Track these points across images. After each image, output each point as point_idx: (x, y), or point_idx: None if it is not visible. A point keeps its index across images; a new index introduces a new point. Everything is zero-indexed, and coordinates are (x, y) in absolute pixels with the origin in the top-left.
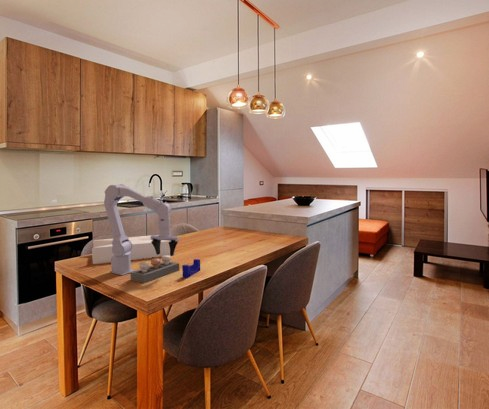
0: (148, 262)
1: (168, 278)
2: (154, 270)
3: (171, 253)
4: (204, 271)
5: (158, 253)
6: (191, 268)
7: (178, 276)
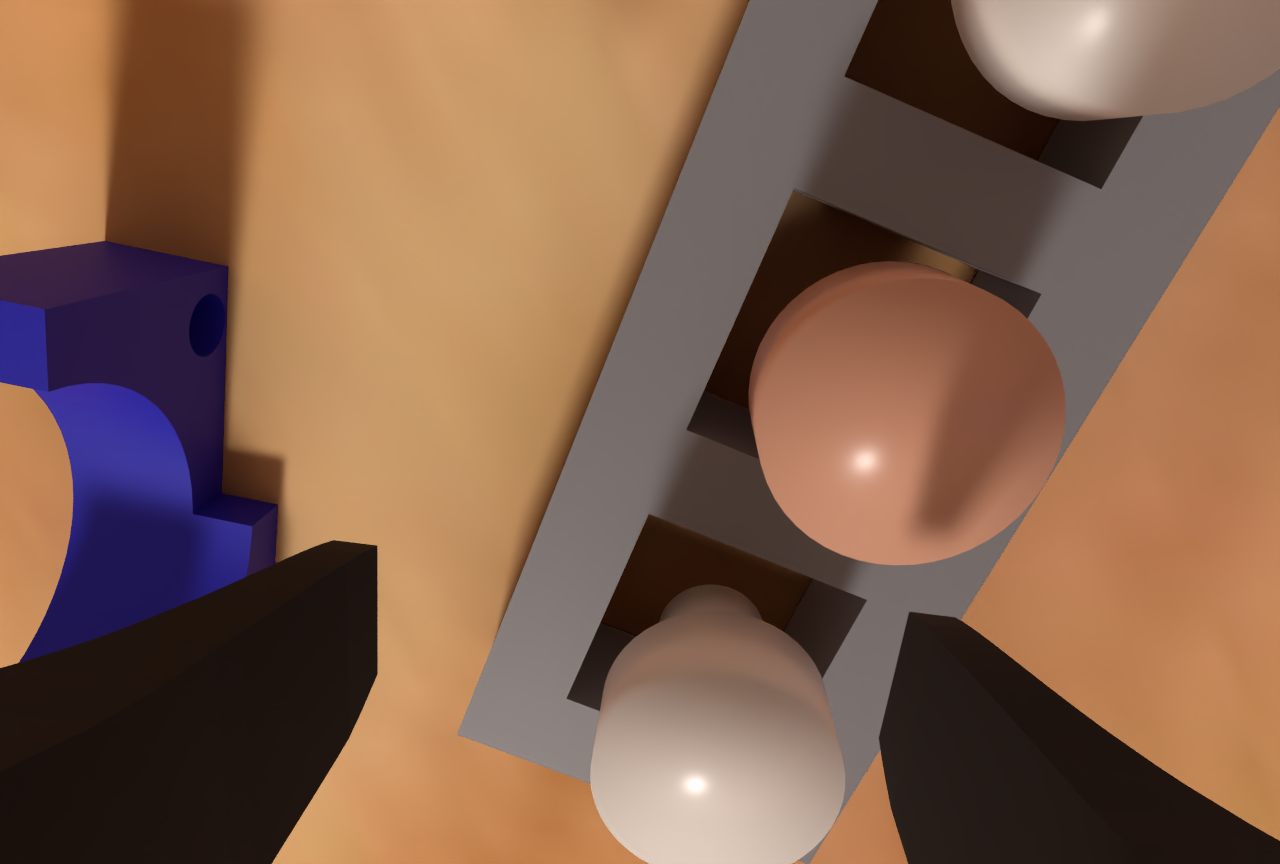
0: (1049, 50)
1: (465, 136)
2: (800, 126)
3: (273, 565)
4: (20, 625)
5: (905, 675)
6: (175, 601)
7: (327, 293)
